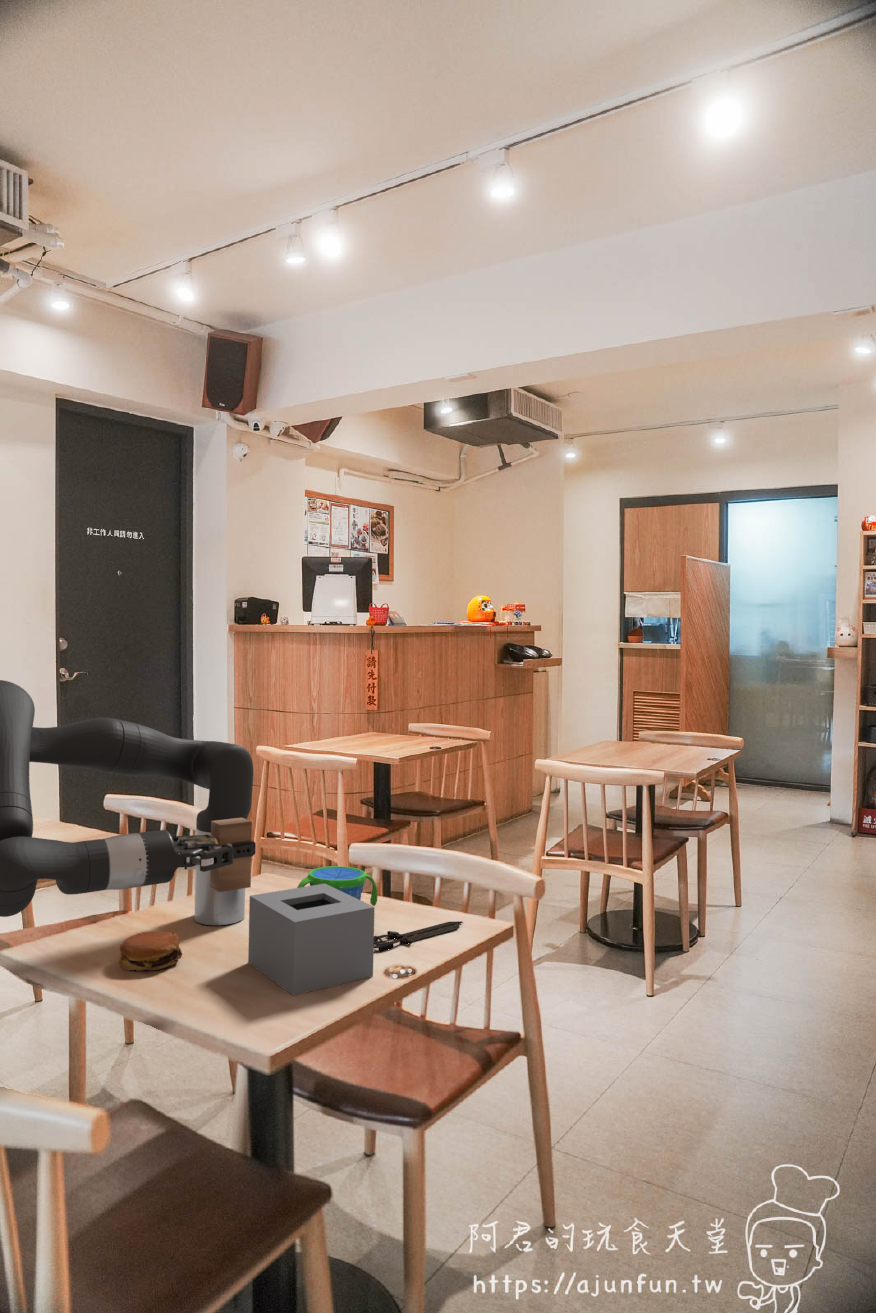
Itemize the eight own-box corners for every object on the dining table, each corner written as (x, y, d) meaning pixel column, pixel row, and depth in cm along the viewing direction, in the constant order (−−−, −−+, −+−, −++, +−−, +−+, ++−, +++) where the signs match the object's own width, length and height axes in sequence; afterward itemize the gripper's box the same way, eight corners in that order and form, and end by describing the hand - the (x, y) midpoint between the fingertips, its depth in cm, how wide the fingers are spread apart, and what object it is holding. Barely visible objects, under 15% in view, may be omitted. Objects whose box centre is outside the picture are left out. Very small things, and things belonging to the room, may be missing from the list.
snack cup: (369, 915, 171) (370, 862, 171) (384, 932, 161) (385, 877, 161) (288, 921, 166) (290, 867, 166) (299, 940, 156) (300, 882, 156)
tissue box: (248, 962, 145) (249, 895, 144) (323, 946, 153) (325, 883, 153) (293, 995, 132) (294, 921, 131) (372, 976, 140) (374, 907, 140)
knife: (458, 923, 169) (458, 916, 169) (479, 933, 164) (479, 925, 163) (343, 948, 154) (344, 940, 154) (363, 959, 148) (363, 951, 148)
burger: (107, 963, 143) (108, 935, 143) (158, 949, 150) (158, 922, 150) (141, 980, 137) (142, 950, 137) (192, 964, 144) (193, 935, 144)
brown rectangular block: (208, 886, 134) (209, 821, 133) (240, 881, 137) (242, 817, 136) (217, 892, 131) (218, 825, 130) (250, 887, 134) (251, 821, 134)
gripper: (152, 843, 119) (269, 829, 130) (120, 824, 131) (230, 812, 141) (152, 898, 120) (268, 880, 130) (120, 874, 131) (229, 859, 141)
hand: (248, 845), depth 135 cm, fingers closed on brown rectangular block, 3 cm apart
